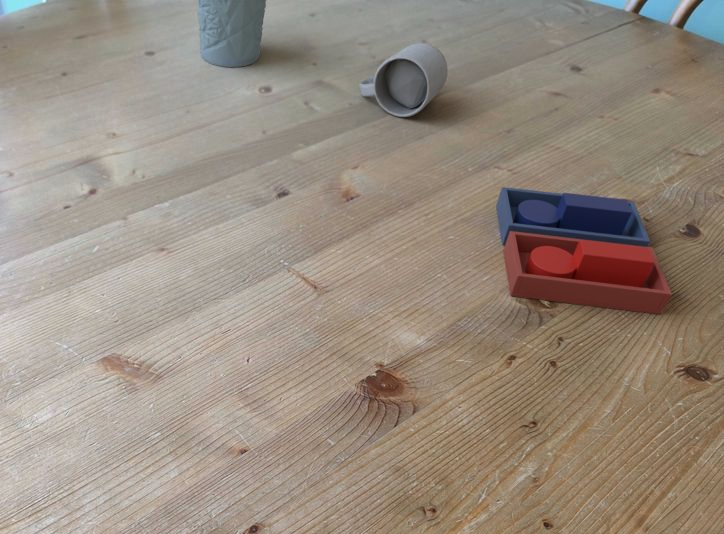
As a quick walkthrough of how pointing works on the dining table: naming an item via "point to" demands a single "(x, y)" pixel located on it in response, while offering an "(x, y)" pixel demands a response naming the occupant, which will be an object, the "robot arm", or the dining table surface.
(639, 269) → the red cylinder-cube piece
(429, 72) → the ceramic mug
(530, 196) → the blue bin
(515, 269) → the red bin
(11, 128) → the dining table surface
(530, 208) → the blue cylinder-cube block
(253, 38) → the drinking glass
